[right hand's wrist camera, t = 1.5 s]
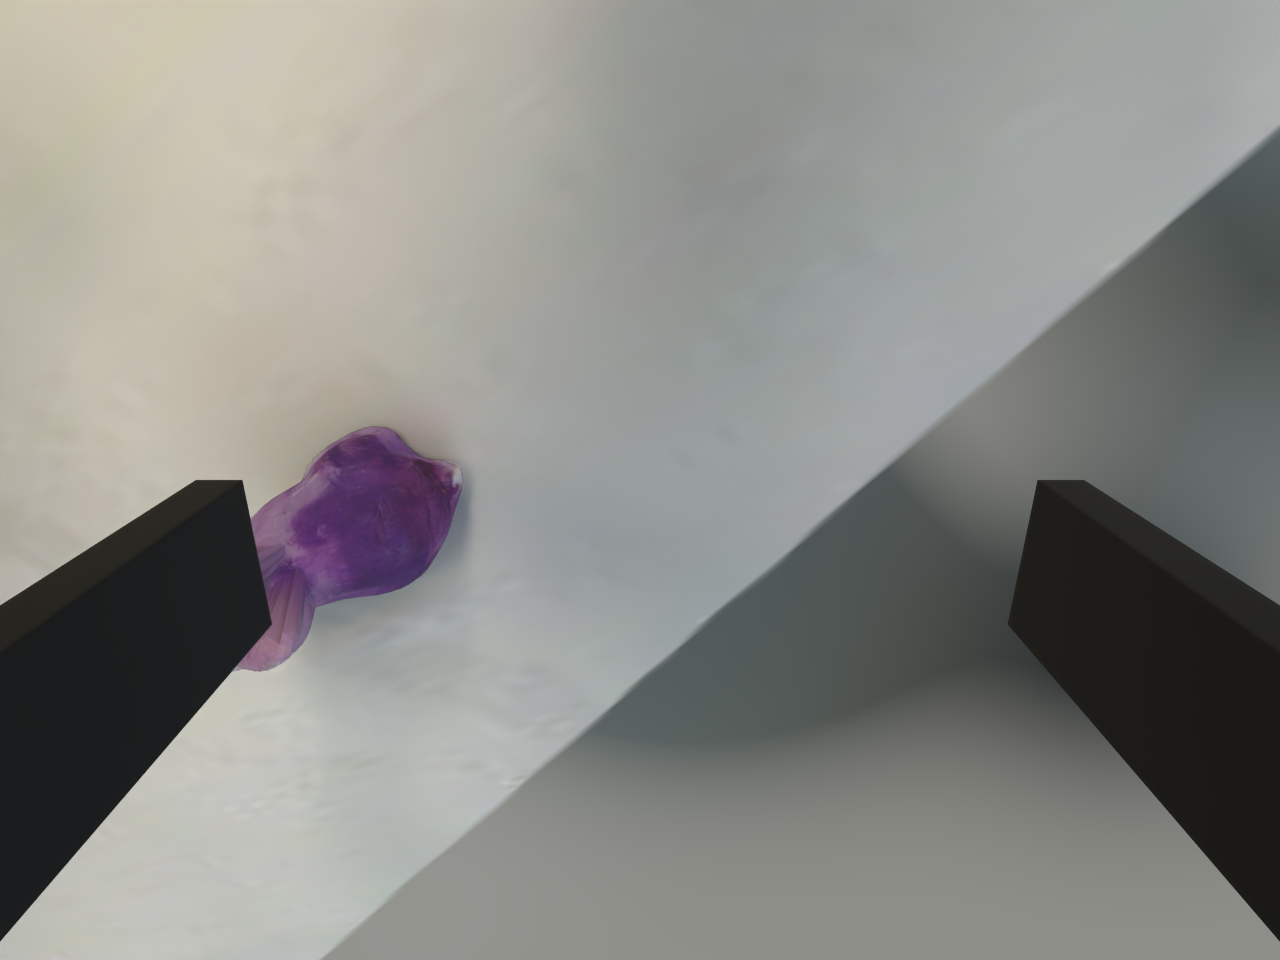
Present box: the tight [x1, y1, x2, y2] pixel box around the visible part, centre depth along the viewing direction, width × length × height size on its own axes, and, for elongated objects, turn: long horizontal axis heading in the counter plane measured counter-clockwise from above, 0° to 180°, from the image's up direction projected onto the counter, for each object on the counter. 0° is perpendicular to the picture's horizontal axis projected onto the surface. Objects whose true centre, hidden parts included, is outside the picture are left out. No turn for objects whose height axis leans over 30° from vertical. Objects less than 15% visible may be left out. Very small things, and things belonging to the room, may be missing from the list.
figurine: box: [233, 426, 463, 672], centre depth 34 cm, size 9×10×15 cm
